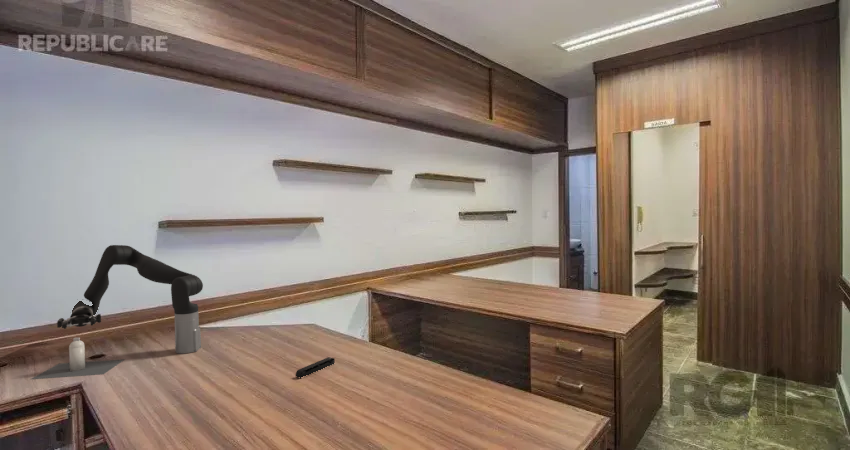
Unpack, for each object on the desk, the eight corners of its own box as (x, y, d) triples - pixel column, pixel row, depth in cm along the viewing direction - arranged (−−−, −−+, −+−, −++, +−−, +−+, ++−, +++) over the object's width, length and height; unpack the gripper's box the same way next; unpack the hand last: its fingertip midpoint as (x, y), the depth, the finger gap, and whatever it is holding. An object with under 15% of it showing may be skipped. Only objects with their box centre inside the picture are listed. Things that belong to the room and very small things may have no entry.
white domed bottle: (87, 366, 164) (86, 335, 164) (80, 370, 160) (79, 339, 159) (74, 367, 163) (73, 336, 163) (67, 371, 159) (65, 340, 158)
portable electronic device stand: (300, 380, 152) (300, 372, 152) (295, 378, 154) (295, 370, 154) (335, 364, 167) (335, 357, 167) (330, 363, 169) (330, 356, 169)
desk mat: (125, 360, 172) (125, 359, 172) (103, 375, 156) (103, 374, 156) (59, 364, 167) (59, 363, 167) (29, 380, 152) (29, 379, 152)
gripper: (60, 309, 179) (55, 318, 166) (102, 305, 187) (100, 313, 174) (60, 326, 179) (55, 336, 166) (102, 321, 187) (100, 330, 174)
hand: (78, 324), depth 170 cm, fingers open, 8 cm apart
